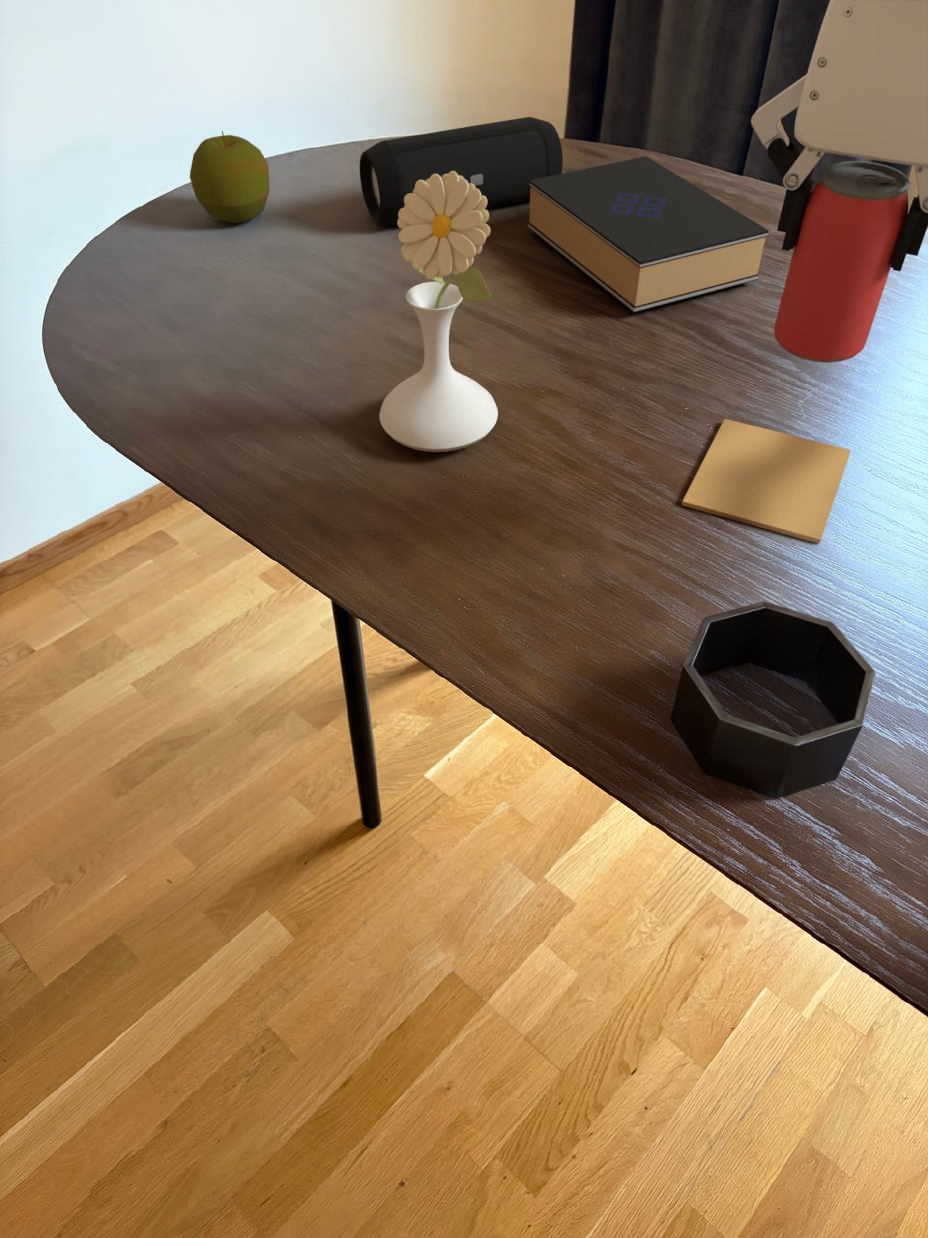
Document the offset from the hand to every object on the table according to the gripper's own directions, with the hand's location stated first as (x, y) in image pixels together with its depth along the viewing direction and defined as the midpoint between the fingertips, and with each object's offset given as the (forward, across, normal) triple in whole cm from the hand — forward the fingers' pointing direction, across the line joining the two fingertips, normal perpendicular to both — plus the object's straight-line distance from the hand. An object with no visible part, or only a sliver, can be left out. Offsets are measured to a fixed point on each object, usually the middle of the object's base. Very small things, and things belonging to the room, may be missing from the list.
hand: (844, 250), depth 64 cm
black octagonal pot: (+24, -5, +23) cm, 33 cm away
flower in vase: (+24, +31, +1) cm, 39 cm away
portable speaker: (+24, +52, -46) cm, 74 cm away
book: (+24, +26, -42) cm, 55 cm away
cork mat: (+24, +1, -5) cm, 24 cm away
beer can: (+7, 0, 0) cm, 7 cm away
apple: (+24, +78, -32) cm, 87 cm away
